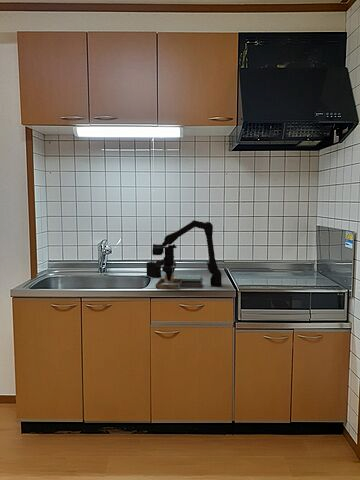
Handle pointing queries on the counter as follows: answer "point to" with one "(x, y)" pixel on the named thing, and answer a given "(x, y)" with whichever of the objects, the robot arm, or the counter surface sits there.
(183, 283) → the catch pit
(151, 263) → the electronic device
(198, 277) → the platform
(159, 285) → the cubby
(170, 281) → the beech cube
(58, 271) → the counter surface
